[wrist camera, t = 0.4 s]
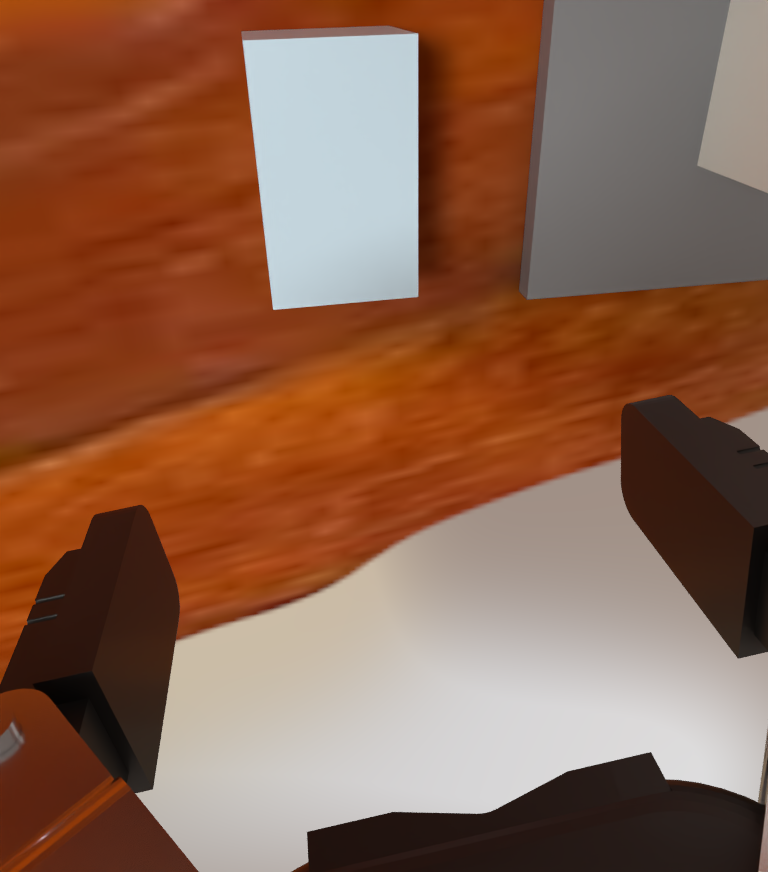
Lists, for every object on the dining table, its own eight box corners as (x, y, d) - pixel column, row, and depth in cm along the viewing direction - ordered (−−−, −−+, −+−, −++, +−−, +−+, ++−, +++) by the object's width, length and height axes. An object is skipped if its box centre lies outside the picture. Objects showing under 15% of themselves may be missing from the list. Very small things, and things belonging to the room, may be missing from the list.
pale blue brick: (241, 30, 24) (242, 40, 20) (387, 25, 25) (417, 33, 21) (267, 262, 29) (273, 309, 25) (392, 252, 29) (418, 296, 25)
